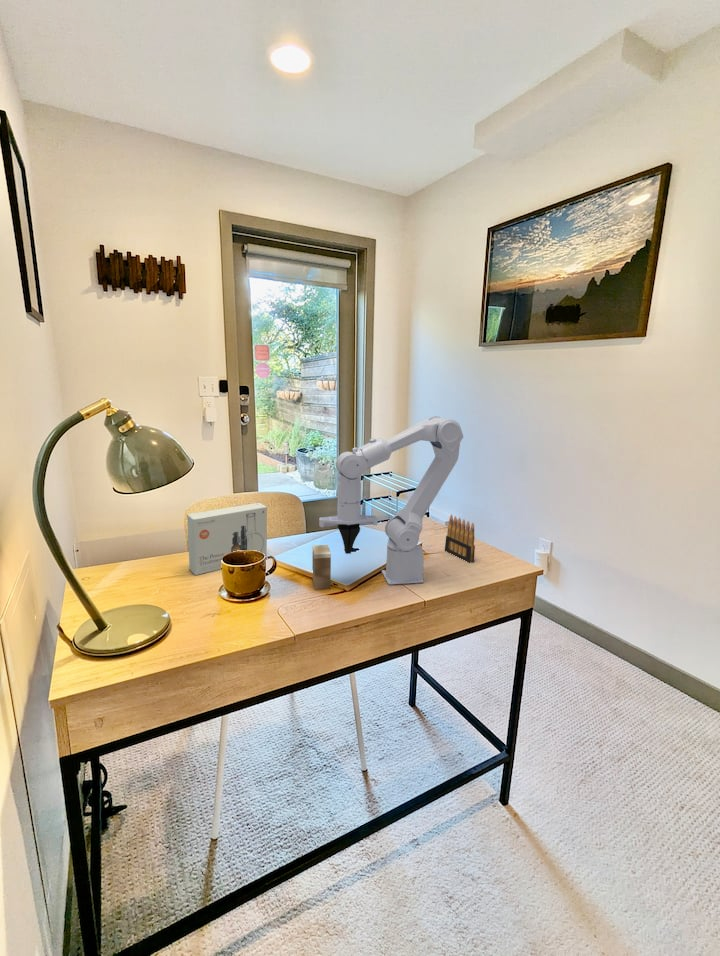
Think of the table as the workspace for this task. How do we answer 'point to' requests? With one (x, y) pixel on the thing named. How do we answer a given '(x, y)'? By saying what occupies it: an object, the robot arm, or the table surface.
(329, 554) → the walnut block
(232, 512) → the skincare box
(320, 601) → the table surface
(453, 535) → the ammunition clip
